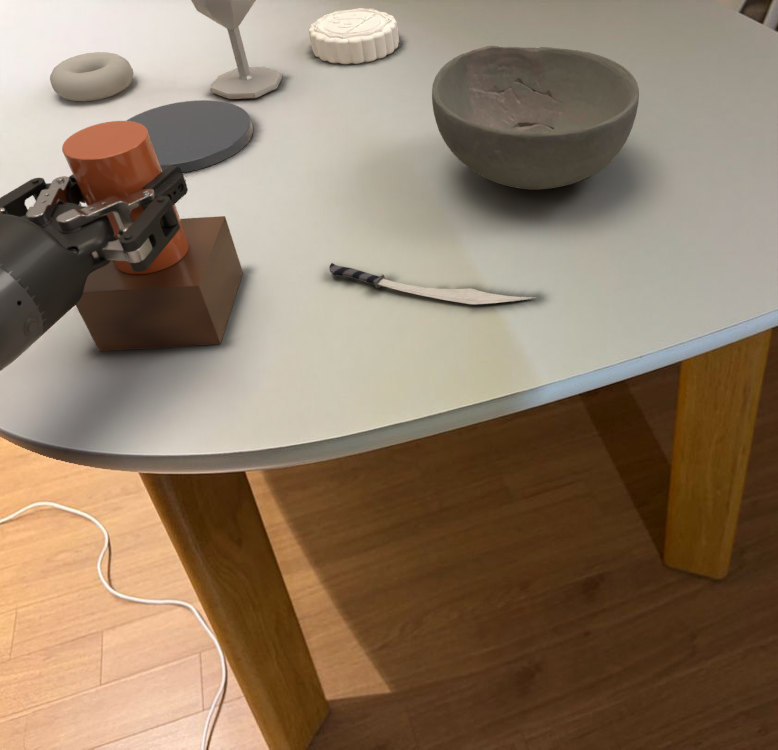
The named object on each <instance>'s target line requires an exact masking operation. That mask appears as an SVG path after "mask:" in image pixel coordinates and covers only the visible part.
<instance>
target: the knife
mask: <svg viewBox="0 0 778 750" xmlns="http://www.w3.org/2000/svg"><path fill="white" fill-rule="evenodd" d="M329 272H330V274H332V276H339V277H348V278H351V279H355V280H358V281H362V282H365V283H368V284H371V285H374V288H375V289H376V290H378V289H379V288H381V287H383V288H388V289H393V290H396V291H401V292H404V293H409V294H413V295H418V296H422V297H427V298H431V299H437V300H443V301H449V302H455V303H460V304H467V305H489V304H497V303H498V304H499V303H508V302H517V301H524V300H529V299H530V300H531V299H535V298H537V296H535V297H534V296H516V295H514V296H513V295H504V294H498V293H497V294H496V293H491V292H485V291H481V290H478V289H475V288H472V287H467V288H439V287H438V288H437V287H425V286H419V285H413V284H408V283H403V282H397V281H394V280H391V279H387V278H386V277H385V274H383V273H382V274H381V275H380V276H379V275H375V274H372V273H369V272H366V271H362V270H359V269H356V268H352V267H347V266H342V265H337V264H335V263H333V262H331V263H330V264H329Z"/></svg>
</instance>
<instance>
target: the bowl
mask: <svg viewBox="0 0 778 750" xmlns="http://www.w3.org/2000/svg"><path fill="white" fill-rule="evenodd" d="M431 87H432V88H431V103H432V112H433V116H434V120H435V123H436V127H437V130H438V131H439V134H440V136H441V138H442V139H443V142H444V144H445V145H446V146H447V148H448V149H449V150H450V151H451V153H452V154H453V155H454V156H455V157H456V158H457V159H458V160H459V161H460V162H461V163H462V164H463V165H465V167H467V168H468V169H470V170H471V171H472V172H474V173H475V174H477V175H479V176H481V177H482V178H485V179H487V180H490V181H491V182H494V183H496V184H499V185H503V186H506V187H509V188H510V187H511V188H515V189H522V190H548V189H556V188H560V187H566V186H569V185H573V184H576V183H578V182H581V181H583V180H585V179H588V178H590V177H592V176H593V175H596V173H599V172H600V171H602V169H605V167H607V165H608V164H610V163H611V162H612V161H613V160H614V159H615V157H616V156H618V154H619V153H620V152H621V150H622V149H623V147H624V146H625V144H626V143H627V140H628V138H629V136H630V134H631V132H632V130H633V127H634V124H635V120H636V116H637V113H638V107H639V100H640V99H639V98H640V89H639V85H638V81H637V79H636V78H635V77H634V74H632V73H631V72H630V71H629V70H628V69H627V68H626V67H624V66H623V65H622V64H619V63H618V62H616V61H615V60H612V59H610V58H608V57H605V56H603V55H599V54H596V53H592V52H588V51H582V50H578V49H577V50H576V49H568V48H560V47H547V46H540V47H522V46H499V45H487V46H482V47H480V48H475V49H471V50H469V51H467V52H464V53H461V54H459V55H457V56H455V57H454V58H452V59H451V60H449V61H447V62H446V63H445V64H444V65H443V66H442V67H441V68H440V69H439V70H438V72H437V73H436V75H435V77H434V79H433V82H432V86H431Z"/></svg>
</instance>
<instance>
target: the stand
mask: <svg viewBox="0 0 778 750" xmlns="http://www.w3.org/2000/svg"><path fill="white" fill-rule="evenodd" d="M180 220H181V222H182V225H183V228H184V231H185V233H186V236H187V239H188V242H189V249H188V252H187V253H186V255H185V256H184V257H183V258H182V259H181V260H180V261H178V262H177V263H175V264H174V265H172V266H170V267H168V268H166V269H163V270H160V271H157V272H153V273H148V274H128V273H124V272H122V271H120V270H118V269H117V268H116V267H115V266H114V264H113V262H112V260H111V262H110V263H109V264H107V265H106V266H104V267H101V268H99V269H97V270H95V271H93V272H92V273H90V274H89V275H88V277H87V280H86V283H85V286H84V291H83V295H82V297H81V299H80V300H79V302H78V303H77V304H76V305H75V307H76V310H77V311H78V313H79V315H80V317H81V319H82V321H83V322H84V324H85V326H86V328H87V330H88V332H89V334H90V336H91V338H92V340H93V342H94V344H95V346H96V348H97V350H98V351H99V352H107V351H108V352H110V351H123V350H124V351H125V350H142V349H157V348H161V349H162V348H173V347H175V348H176V347H193V346H208V345H221V343H222V340H223V338H224V334H225V330H226V328H227V326H228V325H227V324H228V321H229V319H230V315H231V312H232V308H233V305H234V302H235V299H236V295H237V293H238V290H239V286H240V283H241V279H242V277H243V274H244V271H243V268H242V265H241V262H240V261H241V260H240V259H239V255H238V252H237V249H236V246H235V242H234V240H233V236H232V234H231V231H230V226H229V224H228V220H227V218H226V215H221V216H220V215H219V216H204V217H187V218H186V217H185V218H180Z"/></svg>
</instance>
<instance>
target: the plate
mask: <svg viewBox="0 0 778 750" xmlns="http://www.w3.org/2000/svg"><path fill="white" fill-rule="evenodd" d="M126 121H132V122H137V123H140V124H142V125H144V126H145V127H146V128H147V130H148V132H149V135H150V138H151V140H152V143H153V146H154V149H155V151H156V154H157V157H158V160H159V162H160V165H161V168H162V170H165V169H166V168H167V167H168V166H176V167H180V168H181V170H182V173H183V174H184V173H189V172H193V171H197V170H202V169H205V168H208V167H211V166H213V165H216V164H219V163H221V162H223V161H225V160H227V159H229V158H231V157H232V156H234V155H236V154H237V153H239V152H240V151H241V150H242V149H243V148H245V147H246V145H247V144H248V143H249V142H250V141H251V138H252V136H253V132H254V127H253V123H252V119H251V116H250V115H249V113H248V112H247V111H246V110H245V109H244V108H243V107H240V106H238V105H236V104H234V103H230V102H226V101H221V100H206V99H204V100H201V99H200V100H199V99H198V100H186V101H180V102H179V101H178V102H173V103H169V104H163V105H160V106H157V107H154V108H149V109H147V110H145V111H143V112H139V113H137V114H136V115H134V116H132V117H130V118H128V119H126Z"/></svg>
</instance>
